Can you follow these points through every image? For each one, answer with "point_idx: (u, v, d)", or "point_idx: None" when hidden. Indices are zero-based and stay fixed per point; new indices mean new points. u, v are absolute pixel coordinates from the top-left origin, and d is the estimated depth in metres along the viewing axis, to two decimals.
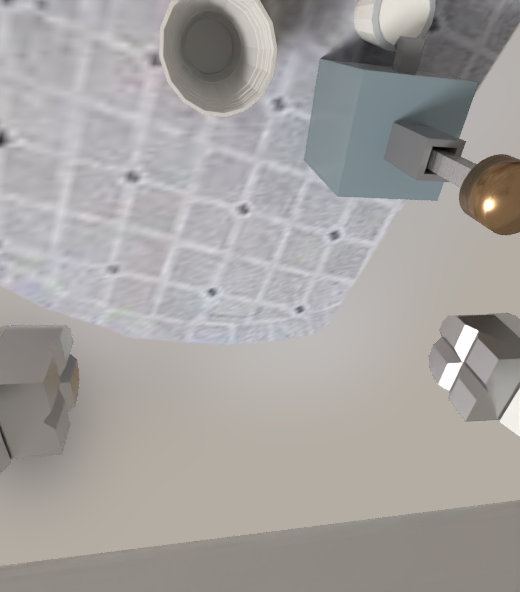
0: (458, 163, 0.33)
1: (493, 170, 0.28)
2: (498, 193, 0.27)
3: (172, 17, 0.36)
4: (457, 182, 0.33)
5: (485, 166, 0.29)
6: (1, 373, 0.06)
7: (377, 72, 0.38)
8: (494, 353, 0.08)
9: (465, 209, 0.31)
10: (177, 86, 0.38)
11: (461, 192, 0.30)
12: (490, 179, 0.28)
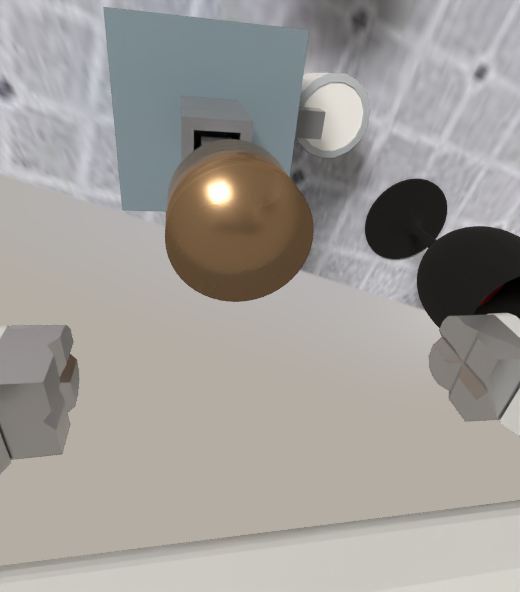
0: None
1: (287, 175, 0.14)
2: (264, 183, 0.12)
3: None
4: None
5: (282, 167, 0.15)
6: (1, 373, 0.06)
7: (304, 56, 0.26)
8: (494, 353, 0.08)
9: (190, 158, 0.14)
10: None
11: (222, 141, 0.14)
12: (278, 167, 0.13)
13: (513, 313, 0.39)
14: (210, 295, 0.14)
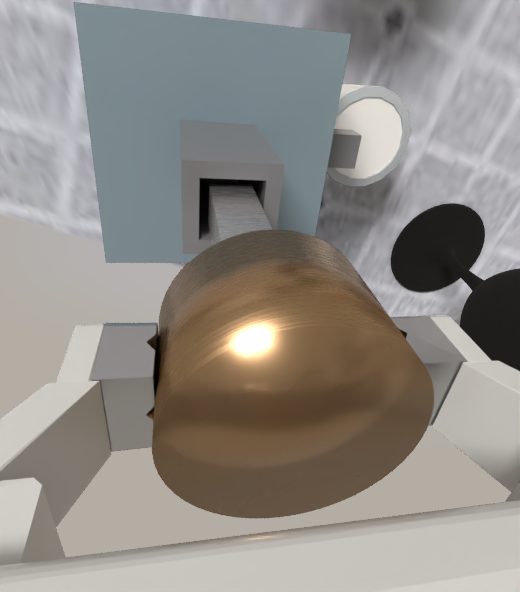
0: None
1: (378, 303, 0.08)
2: (356, 351, 0.06)
3: None
4: None
5: (361, 278, 0.08)
6: (112, 368, 0.07)
7: (343, 67, 0.20)
8: (419, 357, 0.08)
9: (199, 270, 0.08)
10: None
11: (257, 235, 0.08)
12: (370, 303, 0.07)
13: None
14: (236, 514, 0.08)
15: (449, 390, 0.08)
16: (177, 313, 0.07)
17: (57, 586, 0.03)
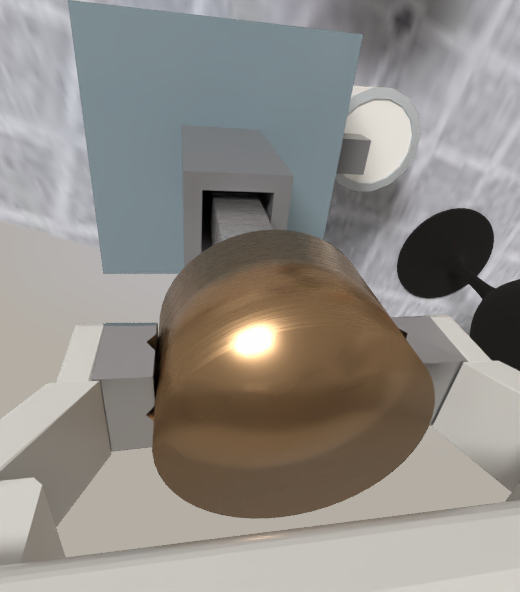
0: None
1: (379, 304, 0.08)
2: (356, 352, 0.06)
3: None
4: None
5: (362, 279, 0.08)
6: (112, 368, 0.07)
7: (354, 70, 0.19)
8: (420, 357, 0.08)
9: (200, 270, 0.08)
10: None
11: (258, 235, 0.08)
12: (371, 304, 0.07)
13: None
14: (236, 514, 0.08)
15: (449, 390, 0.08)
16: (178, 313, 0.07)
17: (57, 586, 0.03)
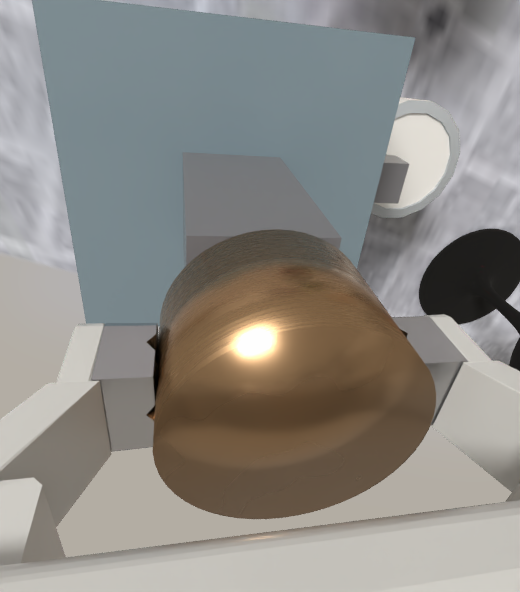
0: None
1: (380, 304, 0.08)
2: (357, 352, 0.06)
3: None
4: None
5: (362, 279, 0.08)
6: (112, 368, 0.07)
7: (401, 82, 0.15)
8: (420, 356, 0.08)
9: (200, 270, 0.08)
10: None
11: (258, 235, 0.08)
12: (373, 304, 0.07)
13: None
14: (236, 515, 0.08)
15: (449, 390, 0.08)
16: (178, 313, 0.07)
17: (57, 586, 0.03)
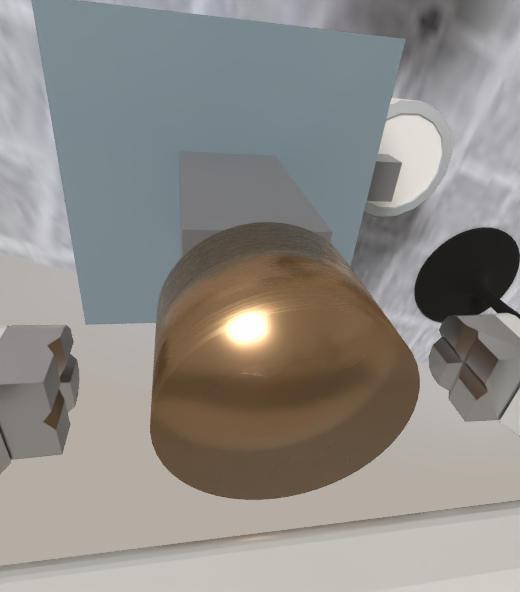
0: None
1: (367, 292, 0.08)
2: (343, 335, 0.06)
3: None
4: None
5: (351, 269, 0.09)
6: (1, 373, 0.06)
7: (392, 83, 0.15)
8: (494, 353, 0.08)
9: (195, 260, 0.08)
10: None
11: (251, 227, 0.08)
12: (359, 291, 0.07)
13: None
14: (231, 495, 0.08)
15: None
16: (174, 301, 0.08)
17: (57, 586, 0.03)
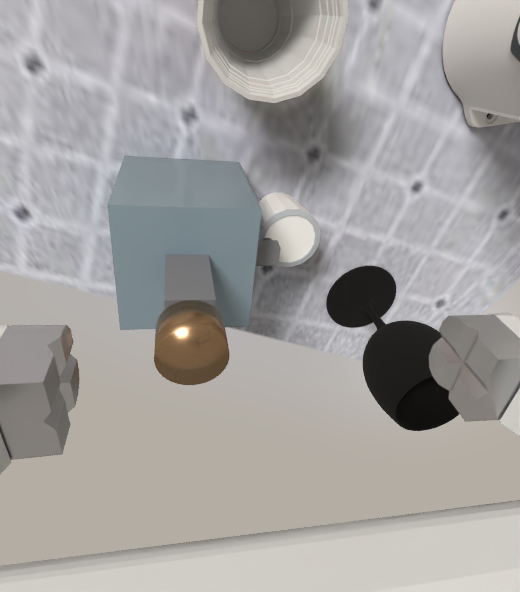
0: None
1: (217, 322, 0.27)
2: (202, 334, 0.26)
3: None
4: None
5: (216, 314, 0.28)
6: (1, 373, 0.06)
7: (258, 225, 0.34)
8: (494, 353, 0.08)
9: (167, 312, 0.27)
10: None
11: (184, 302, 0.28)
12: (210, 323, 0.27)
13: (440, 390, 0.48)
14: (178, 382, 0.28)
15: None
16: (161, 325, 0.27)
17: (56, 586, 0.03)
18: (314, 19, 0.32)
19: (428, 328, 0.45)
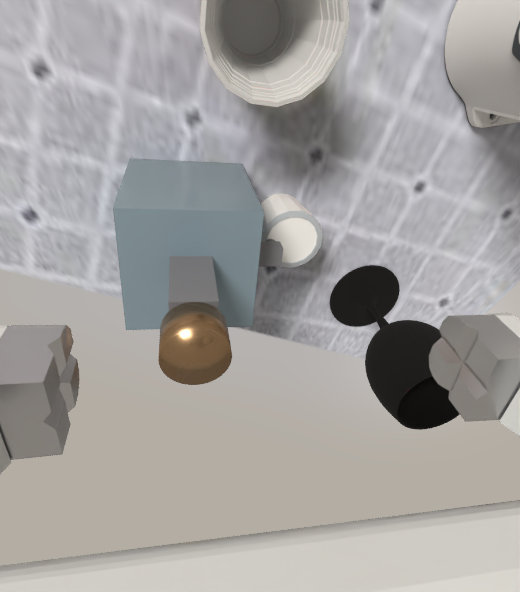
0: None
1: (219, 323, 0.28)
2: (205, 336, 0.26)
3: None
4: None
5: (219, 316, 0.29)
6: (1, 373, 0.06)
7: (261, 227, 0.35)
8: (494, 353, 0.08)
9: (171, 314, 0.28)
10: None
11: (188, 304, 0.28)
12: (213, 324, 0.27)
13: (442, 389, 0.48)
14: (181, 382, 0.28)
15: None
16: (165, 326, 0.28)
17: (57, 586, 0.03)
18: (316, 24, 0.33)
19: (430, 328, 0.45)
